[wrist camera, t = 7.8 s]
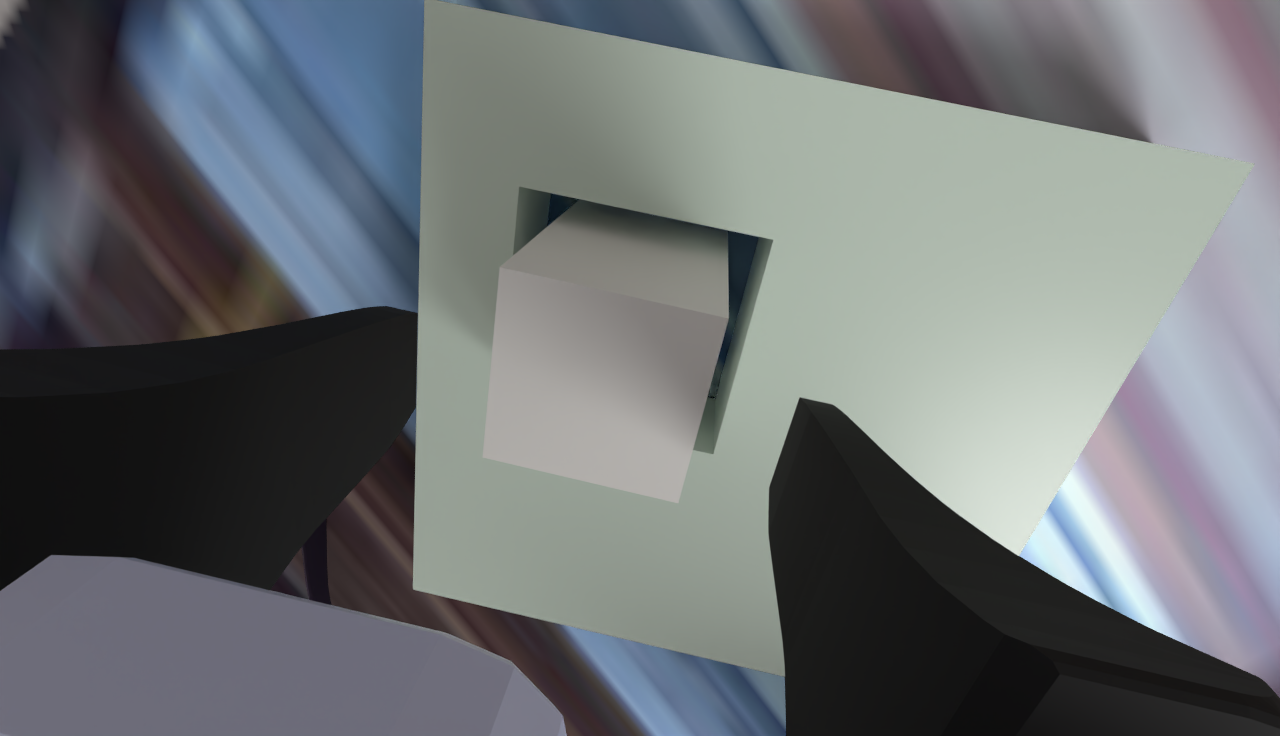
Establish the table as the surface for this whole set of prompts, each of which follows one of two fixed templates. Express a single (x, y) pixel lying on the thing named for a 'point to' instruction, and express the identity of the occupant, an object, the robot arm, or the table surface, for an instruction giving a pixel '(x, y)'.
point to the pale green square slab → (776, 306)
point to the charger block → (607, 348)
